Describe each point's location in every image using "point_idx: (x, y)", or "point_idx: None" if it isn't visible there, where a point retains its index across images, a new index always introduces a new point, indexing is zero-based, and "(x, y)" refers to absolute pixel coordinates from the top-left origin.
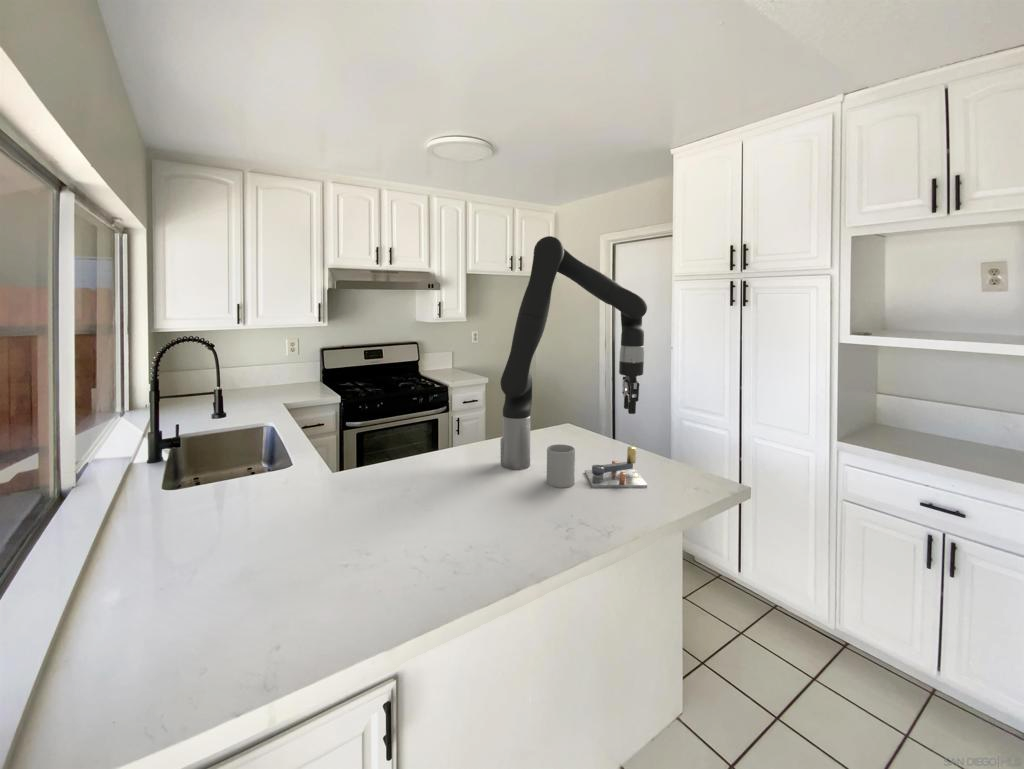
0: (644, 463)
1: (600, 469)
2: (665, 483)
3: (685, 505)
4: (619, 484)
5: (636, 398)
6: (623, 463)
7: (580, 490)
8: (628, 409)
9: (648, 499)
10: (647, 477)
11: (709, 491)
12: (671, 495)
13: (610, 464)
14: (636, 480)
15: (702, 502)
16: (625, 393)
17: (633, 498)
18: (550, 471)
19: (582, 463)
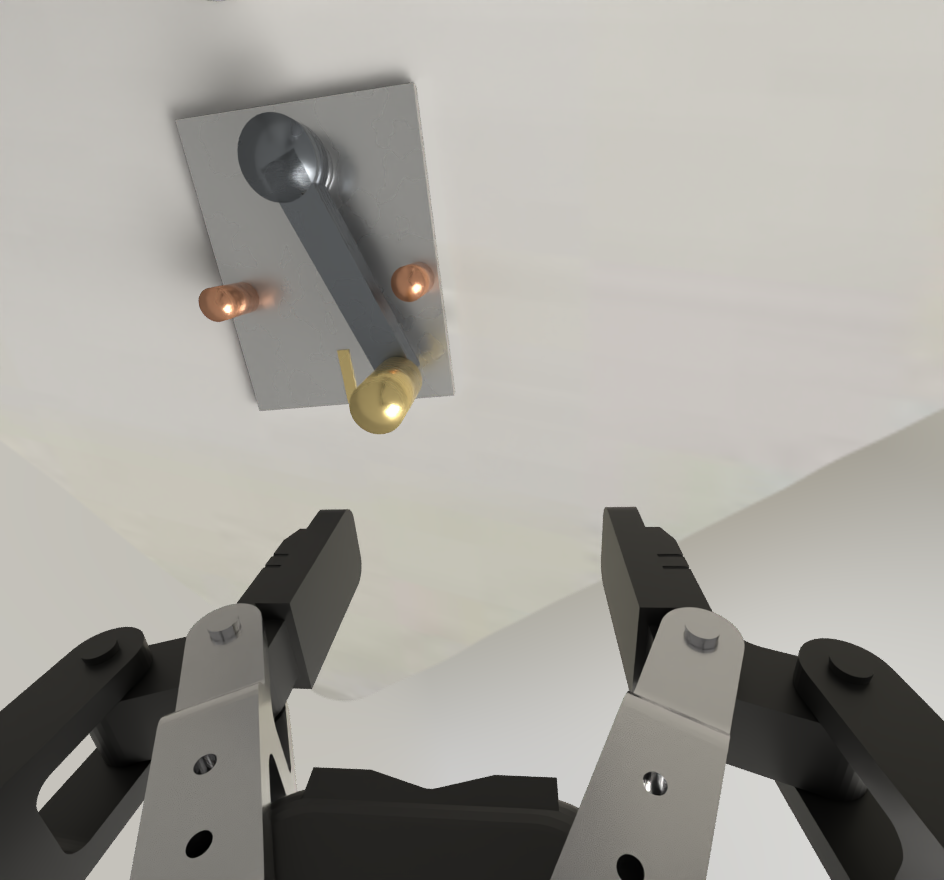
0: (593, 458)
1: (244, 172)
2: (330, 488)
3: (126, 502)
4: (227, 280)
5: (103, 752)
6: (369, 332)
7: (126, 45)
8: (311, 532)
9: (133, 385)
10: (391, 432)
11: None
12: (205, 479)
13: (336, 248)
14: (301, 373)
15: (173, 559)
16: (639, 692)
17: (121, 325)
18: None
19: (595, 76)
